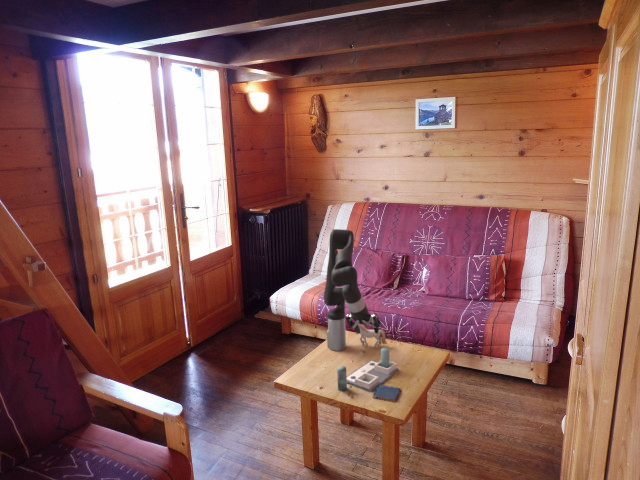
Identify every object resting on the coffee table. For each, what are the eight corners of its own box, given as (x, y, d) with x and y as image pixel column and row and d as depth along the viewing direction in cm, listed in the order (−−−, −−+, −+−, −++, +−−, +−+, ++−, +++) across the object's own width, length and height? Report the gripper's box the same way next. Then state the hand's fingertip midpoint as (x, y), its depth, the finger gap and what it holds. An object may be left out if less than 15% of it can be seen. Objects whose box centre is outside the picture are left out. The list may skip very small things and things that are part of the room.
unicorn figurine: (349, 346, 247) (348, 322, 244) (383, 342, 250) (383, 319, 247) (352, 351, 240) (351, 327, 237) (387, 347, 243) (387, 324, 240)
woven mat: (396, 404, 190) (396, 399, 190) (372, 399, 194) (372, 395, 194) (402, 391, 200) (402, 387, 199) (378, 387, 204) (378, 383, 203)
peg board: (342, 381, 209) (341, 359, 207) (370, 361, 227) (370, 341, 225) (371, 392, 199) (370, 369, 197) (398, 370, 217) (398, 349, 215)
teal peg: (336, 389, 203) (335, 368, 201) (341, 385, 206) (340, 365, 204) (343, 392, 200) (342, 371, 198) (348, 388, 203) (348, 367, 201)
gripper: (374, 298, 191) (385, 325, 199) (343, 299, 197) (355, 325, 206) (370, 311, 185) (381, 338, 194) (338, 312, 192) (350, 338, 200)
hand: (367, 332), depth 200 cm, fingers open, 8 cm apart
